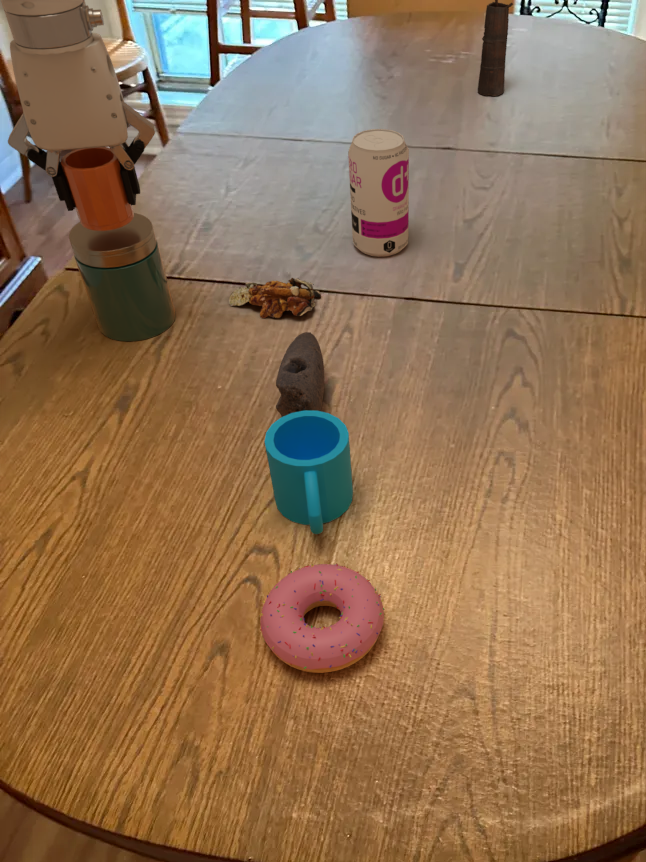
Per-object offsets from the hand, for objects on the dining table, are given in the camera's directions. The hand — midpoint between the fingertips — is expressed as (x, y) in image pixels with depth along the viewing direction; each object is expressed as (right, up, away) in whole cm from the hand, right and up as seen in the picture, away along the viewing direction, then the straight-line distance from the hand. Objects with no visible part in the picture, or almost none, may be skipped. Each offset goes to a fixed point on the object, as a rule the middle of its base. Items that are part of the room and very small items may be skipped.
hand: (102, 201), depth 92 cm
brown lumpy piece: (+18, -8, +14) cm, 24 cm away
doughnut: (+28, -48, -21) cm, 59 cm away
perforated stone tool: (+24, -23, +1) cm, 33 cm away
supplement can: (+32, +4, +25) cm, 41 cm away
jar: (0, -10, +12) cm, 16 cm away
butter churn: (+54, +50, +65) cm, 98 cm away
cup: (0, -1, +1) cm, 2 cm away
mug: (+26, -37, -11) cm, 46 cm away
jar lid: (0, -3, +3) cm, 4 cm away
